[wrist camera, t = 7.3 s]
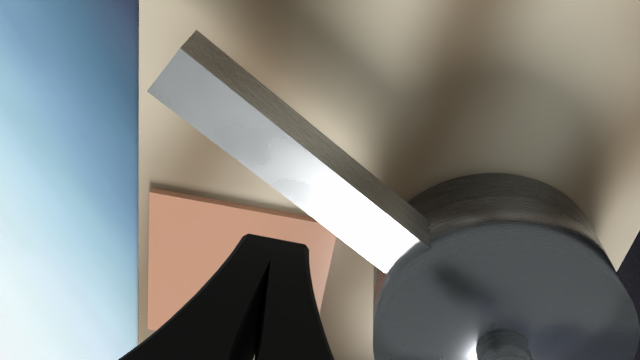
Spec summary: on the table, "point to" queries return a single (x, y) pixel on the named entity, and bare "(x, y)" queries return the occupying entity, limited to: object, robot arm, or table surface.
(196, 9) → the board
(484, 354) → the grey cylinder with handle
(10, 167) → the table surface
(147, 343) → the robot arm
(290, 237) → the tile
